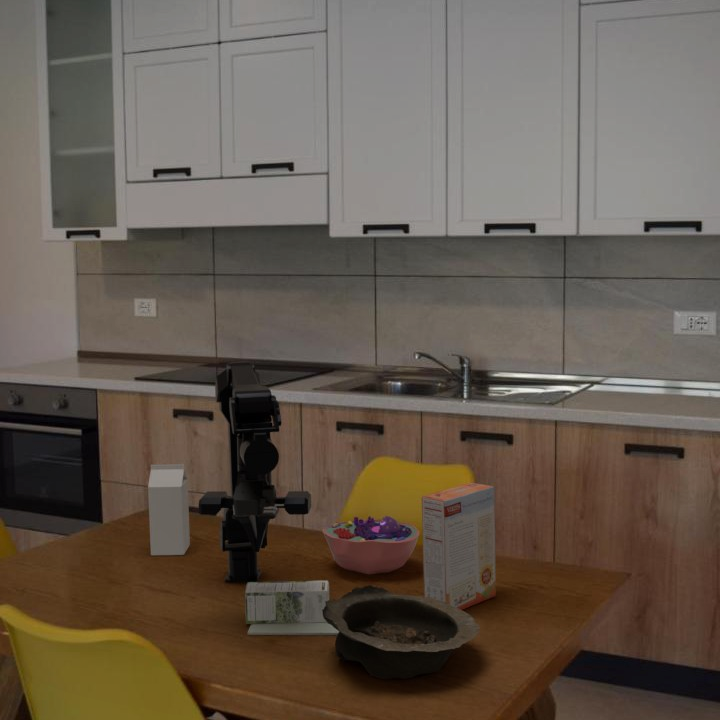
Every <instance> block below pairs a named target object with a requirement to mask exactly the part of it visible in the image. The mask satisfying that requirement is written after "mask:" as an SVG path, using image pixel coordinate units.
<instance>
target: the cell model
mask: <svg viewBox="0 0 720 720" xmlns="http://www.w3.org/2000/svg"><path fill="white" fill-rule="evenodd" d="M367 517H368V518H367V519H364V518H361V519H359V517H357V516H353V520H345V521H339V522H338V521H337V522H335V523H333V524H330V525H328V526H325V527H323V529H321V530H322V531H321V532H322V533H323V535H324V538H325V541H326V542H327V544H328V545H327V546H328V547H329V549H330V552H331V553H330V554H331V555H332V557H333V560H334V561H335V563H336V564H337V565H338V566H339V567H341V568H343V569H344V570H348V571H352V572H356V573H360V574H364V575H375V574H389V573H391V572H393V571H397V570H398V569H400V568H402V567H403V566H404V565H405V564H406V563H407V561H408V560H409V558H410V557H411V555H413V552H414V550H415V547H416V544H417V542H418V540H419V537H420V534H421V531H420V530H419V529H418V528H417V527H416V526H415V525H414V524H412V523H409V522H408V523H407V522H401V521H397V520H396V519H395V518H393V517H391V516H389V515H385V516H383V517H382V518H381V519H380V518H374V517H372V516H370V515H369V516H367Z"/></svg>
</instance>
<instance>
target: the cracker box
mask: <svg viewBox="0 0 720 720" xmlns="http://www.w3.org/2000/svg"><path fill="white" fill-rule="evenodd" d="M495 523H496V522H495V487H494V486H493V485H488V484H482V483H478V482H474V481H473V482H468V483H464V484H461V485H458V486H457V485H456V486H453V487H449V488H447V489H446V488H445V489H443V490H440V491H439V490H438V491H435V492H432V493H428V494H425V495H422V496H421V525H422V532H421V533H422V556H423V557H422V558H423V560H422V564H423V566H422V567H423V595H424V597H429V598H433V599H436V600H440V601H443V602H446V603H448V604H450V605H451V606H453V607H455V608H458V609H460V610H462V611H464V610H465V609H467V608H469V607H472V606H474V605H477V604H479V603H482V602H484V601H487V600H489V599H491V598H494V597H496V596H497V594H496V590H497V588H496V586H497V585H496V582H497V581H496V539H495V537H496V534H495V532H496V531H495V527H496V525H495Z"/></svg>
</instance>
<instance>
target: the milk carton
mask: <svg viewBox="0 0 720 720" xmlns="http://www.w3.org/2000/svg"><path fill="white" fill-rule="evenodd" d="M148 479H149V480H148V485H147V491H148V492H147V494H148V514H149V515H148V516H149V519H148V520H149V543H150V556H184V555H185V554H186V552H187V551H188V549H189V547H190V546H191V539H190V536H191V535H190V514H189V513H190V511H189V507H190V506H189V489H188V488H189V487H188V476H187V473H186V470H185V463H180V464H179V463H177V464H175V463H174V464H172V463H171V464H166V463H165V464H150V473H149V478H148Z"/></svg>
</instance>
